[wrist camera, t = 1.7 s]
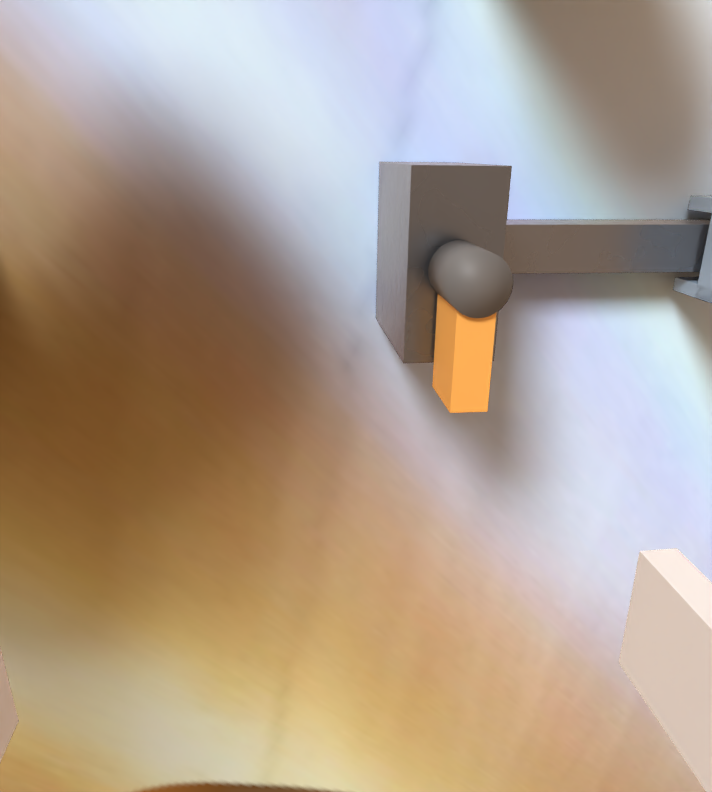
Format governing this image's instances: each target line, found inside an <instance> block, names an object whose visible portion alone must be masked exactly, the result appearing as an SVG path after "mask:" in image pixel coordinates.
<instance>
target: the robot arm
mask: <svg viewBox="0 0 712 792" xmlns="http://www.w3.org/2000/svg"><path fill="white" fill-rule="evenodd" d="M619 664H620V665H621V667H622V668H623V670H624V671H625V673H626V674H627V676H628V677H629V679H630V680H631V682H632V683H633V685H634V686H635V688H636V689H637V691H638V692H639V694H640V695H641V697H642V698H643V699H644V701H645V702H646V704H647V705H648V707H649V708H650V710H651V711H652V713H653V714H654V716H655V717H656V719H657V720H658V722H659V723H660V725H661V726H662V728H663V729H664V731H665V732H666V733H667V735H668V736H669V738H670V739H671V741H672V742H673V744H674V745H675V747H676V748H677V750H678V751H679V753H680V754H681V756H682V757H683V759H684V760H685V762H686V763H687V764H688V766H689V767H690V769H691V770H692V772H693V773H694V775H695V776H696V778H697V779H698V781H699V782H700V784H701V785H702V787H703V788H704V790H705V791H706V792H712V583H711V582H710V581H709V580H708V579H707V578H706V577H705V576H704V575H703V574H702V573H701V572H700V571H699V570H698V569H697V568H696V567H695V566H694V565H693V564H692V563H691V562H690V561H689V560H688V559H687V558H686V557H685V556H684V555H683V554H682V553H681V552H680V551H679V550H678V549H677V548H675V549H662V550H649V551H640V553H639V558H638V563H637V569H636V574H635V579H634V585H633V590H632V595H631V600H630V606H629V611H628V616H627V622H626V627H625V632H624V637H623V643H622V648H621V653H620V659H619ZM18 721H19V720H18V716H17V712H16V708H15V704H14V700H13V696H12V692H11V688H10V684H9V680H8V676H7V672H6V668H5V664H4V660H3V656H2V652H1V648H0V762H1V760H2V758H3V755H4V753H5V751H6V748H7V746H8V744H9V742H10V739H11V737H12V735H13V733H14V730H15V728H16V726H17V723H18Z"/></svg>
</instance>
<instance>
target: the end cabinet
mask: <svg viewBox="0 0 712 792" xmlns="http://www.w3.org/2000/svg"><path fill="white" fill-rule="evenodd" d="M511 168H512V166H503V165H487V164H471V163H446V162H379V202H378V245H377V289H376V319H377V321H378V323H379V324H380V326H381V327H382V329H383V331H384V332H385V334H386V336H387V337H388V339H389V340H390V342H391V344H392V345H393V347H394V349H395V350H396V352H397V353H398V355H399V357H400V358H401V360H402V362H403V363H430V362H434V349H435V332H436V314H437V297H438V293H437V292H436V291H435V290H434V289H433V287H432V286H431V284H430V281H429V277H428V267H429V263H430V260H431V258H432V256H433V255H434V253H435V252H436V251H437V250H438V249H439V248H440V247H441V246H442V245H444V244H446V243H448V242H451V241H455V240H463V241H468V242H470V243H472V244H475V245H477V246H479V247H481V248H483V249H485V250H487V251H490V252H492V253H494V254H496V255H498V256H500V257H501V258H502V259H503V255H504V244H505V233H506V222H507V211H508V201H509V190H510V179H511ZM497 320H498V312H496V323H495V334H494V345H493V356H492V361H494V353H495V342H496V331H497Z"/></svg>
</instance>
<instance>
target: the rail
mask: <svg viewBox="0 0 712 792" xmlns="http://www.w3.org/2000/svg"><path fill="white" fill-rule="evenodd" d="M709 225H710V220H507V222H506V233H505V244H504V255H503V259H504V260H505V261H506V263H507V264H508V266H509V267H510V269H511V272H512V274H521V273H622V272H700V270H701V265H702V260H703V255H704V250H705V245H706V240H707V235H708V230H709Z"/></svg>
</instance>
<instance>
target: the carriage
mask: <svg viewBox="0 0 712 792" xmlns="http://www.w3.org/2000/svg"><path fill="white" fill-rule="evenodd" d="M688 210H696V211H703V212H710V213H712V196H691V197H690V202H689V207H688ZM673 290H675V291H677V292H680V293H683V294H686V295H689V296H692V297H695V298H698V299H700V300H703V301H706V302H709V303H712V215H711V220H710V225H709V230H708V235H707V240H706V245H705V250H704V255H703V260H702V265H701V270H700V275H699V277H675V281H674V287H673Z"/></svg>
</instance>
